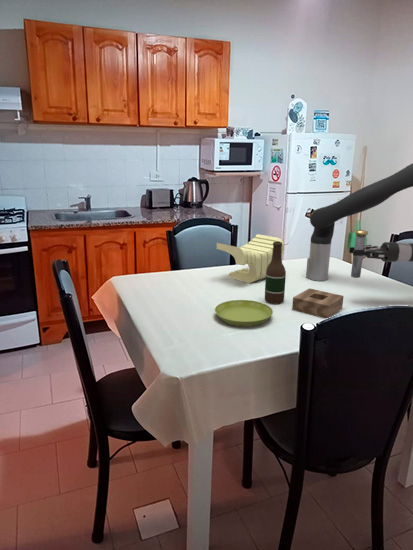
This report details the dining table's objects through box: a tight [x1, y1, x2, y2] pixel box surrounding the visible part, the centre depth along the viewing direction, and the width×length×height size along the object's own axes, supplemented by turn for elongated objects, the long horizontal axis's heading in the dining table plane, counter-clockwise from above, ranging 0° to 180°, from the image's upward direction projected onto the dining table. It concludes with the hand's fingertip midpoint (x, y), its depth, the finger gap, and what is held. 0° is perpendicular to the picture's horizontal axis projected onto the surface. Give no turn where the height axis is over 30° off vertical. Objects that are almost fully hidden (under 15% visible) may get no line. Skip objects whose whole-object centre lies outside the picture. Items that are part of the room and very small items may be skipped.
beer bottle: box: [264, 242, 287, 305], centre depth 162 cm, size 8×8×24 cm
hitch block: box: [291, 288, 344, 320], centre depth 157 cm, size 14×14×5 cm
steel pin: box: [350, 229, 369, 279], centre depth 159 cm, size 5×5×18 cm
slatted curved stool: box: [216, 233, 285, 284], centre depth 194 cm, size 30×16×18 cm, turn 136°
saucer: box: [214, 299, 274, 327], centre depth 149 cm, size 21×21×3 cm
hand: (351, 251), depth 159 cm, fingers closed on steel pin, 3 cm apart
